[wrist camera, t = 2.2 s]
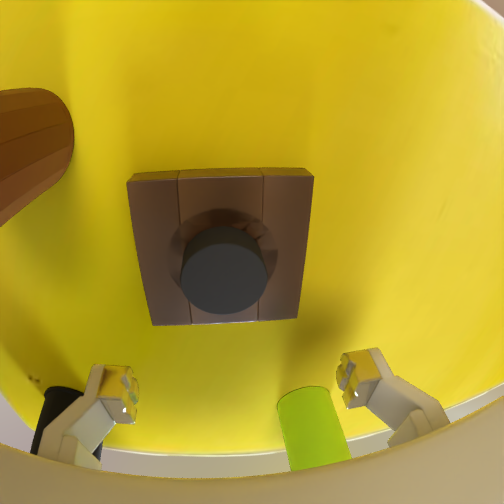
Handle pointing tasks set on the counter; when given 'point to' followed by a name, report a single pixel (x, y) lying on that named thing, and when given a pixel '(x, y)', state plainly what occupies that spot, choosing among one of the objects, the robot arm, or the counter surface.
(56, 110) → the bottle
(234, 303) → the cylinder
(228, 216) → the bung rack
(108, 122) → the counter surface
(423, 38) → the counter surface
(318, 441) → the soap dispenser
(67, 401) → the aerosol can
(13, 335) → the counter surface
